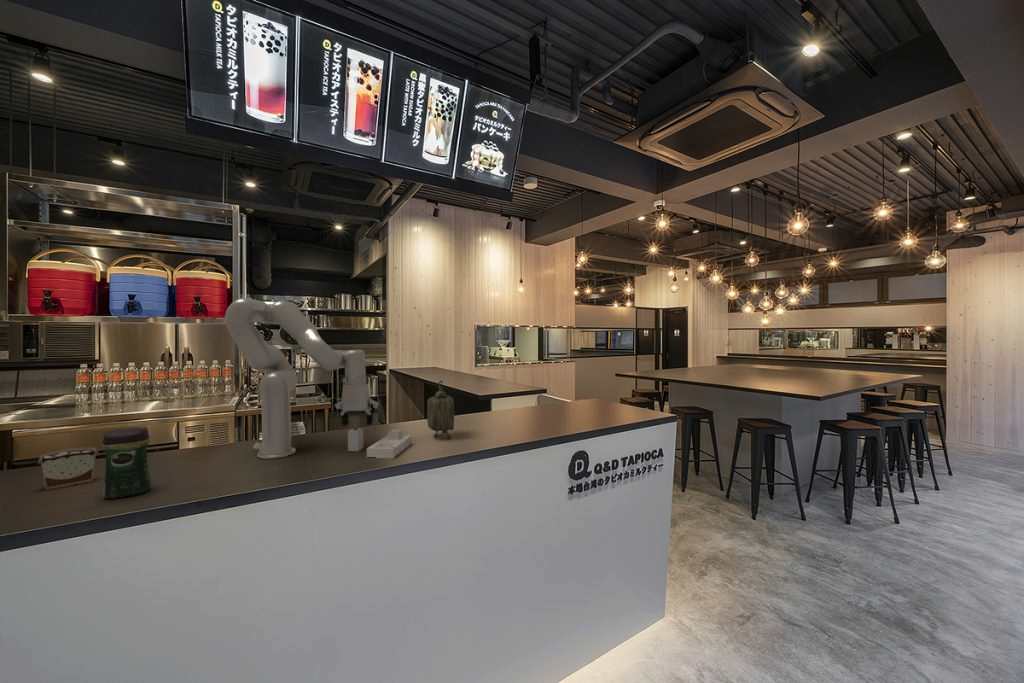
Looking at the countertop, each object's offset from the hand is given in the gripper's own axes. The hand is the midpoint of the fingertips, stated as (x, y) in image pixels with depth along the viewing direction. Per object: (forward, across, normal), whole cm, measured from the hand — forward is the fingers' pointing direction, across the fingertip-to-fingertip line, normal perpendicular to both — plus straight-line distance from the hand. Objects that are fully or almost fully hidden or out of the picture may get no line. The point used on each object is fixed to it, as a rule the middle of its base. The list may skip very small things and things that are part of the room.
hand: (357, 424), depth 160 cm
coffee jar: (+8, -45, -48) cm, 67 cm away
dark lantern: (+11, +27, +22) cm, 36 cm away
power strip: (+10, +13, 0) cm, 16 cm away
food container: (+7, -71, -42) cm, 83 cm away
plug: (+10, -1, 0) cm, 10 cm away
